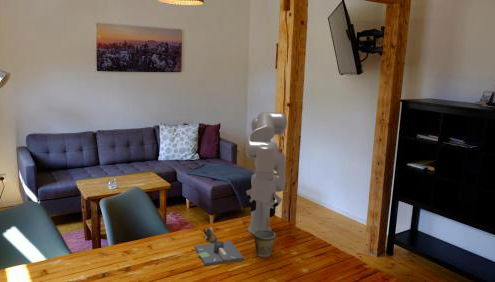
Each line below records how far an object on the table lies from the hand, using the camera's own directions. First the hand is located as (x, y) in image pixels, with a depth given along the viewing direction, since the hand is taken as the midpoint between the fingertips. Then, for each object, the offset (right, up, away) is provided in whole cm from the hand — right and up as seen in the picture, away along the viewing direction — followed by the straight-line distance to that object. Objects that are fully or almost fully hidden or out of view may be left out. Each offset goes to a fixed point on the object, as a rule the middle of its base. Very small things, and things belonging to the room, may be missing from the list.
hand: (262, 213), depth 173 cm
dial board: (-20, -21, +14) cm, 32 cm away
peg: (-18, -21, +11) cm, 30 cm away
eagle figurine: (-26, -18, +29) cm, 43 cm away
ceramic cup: (+2, -22, +18) cm, 28 cm away
